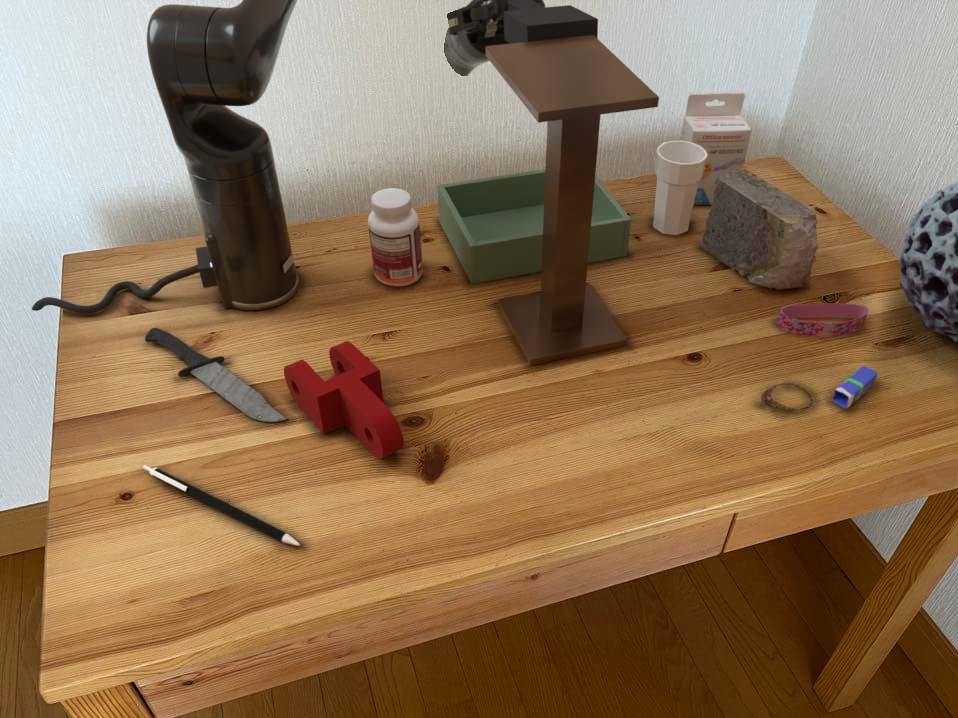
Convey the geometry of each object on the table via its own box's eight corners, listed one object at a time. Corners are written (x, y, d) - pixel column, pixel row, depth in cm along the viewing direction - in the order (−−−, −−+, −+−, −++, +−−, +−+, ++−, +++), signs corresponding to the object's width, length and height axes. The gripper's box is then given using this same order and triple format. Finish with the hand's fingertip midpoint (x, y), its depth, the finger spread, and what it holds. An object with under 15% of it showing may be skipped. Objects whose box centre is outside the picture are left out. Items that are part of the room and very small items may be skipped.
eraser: (835, 388, 93) (851, 396, 92) (862, 364, 97) (878, 372, 96) (830, 401, 95) (847, 410, 94) (857, 377, 98) (873, 385, 97)
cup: (682, 243, 117) (694, 169, 109) (638, 228, 119) (648, 155, 112) (701, 221, 121) (715, 149, 114) (659, 208, 124) (670, 136, 116)
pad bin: (471, 284, 108) (470, 246, 105) (439, 221, 119) (437, 184, 115) (627, 256, 114) (631, 219, 110) (583, 198, 125) (585, 163, 121)
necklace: (751, 392, 95) (753, 385, 94) (799, 381, 97) (801, 375, 96) (770, 418, 92) (773, 412, 92) (819, 406, 94) (822, 400, 93)
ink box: (680, 207, 124) (696, 109, 114) (671, 189, 127) (686, 93, 117) (736, 204, 125) (757, 107, 115) (726, 187, 128) (746, 91, 118)
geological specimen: (710, 174, 109) (796, 229, 100) (745, 163, 112) (831, 216, 103) (695, 245, 117) (774, 303, 108) (728, 233, 119) (808, 289, 110)
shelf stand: (530, 366, 97) (538, 112, 77) (487, 287, 108) (485, 45, 88) (626, 345, 101) (659, 96, 80) (576, 270, 111) (593, 34, 91)
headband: (876, 322, 102) (870, 336, 103) (865, 301, 105) (860, 316, 106) (786, 324, 101) (782, 338, 103) (778, 304, 104) (774, 318, 106)
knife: (260, 440, 88) (299, 415, 91) (258, 433, 87) (297, 408, 90) (133, 344, 97) (172, 323, 100) (131, 336, 97) (170, 316, 100)
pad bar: (527, 56, 91) (527, 25, 89) (469, 16, 108) (468, -11, 106) (597, 48, 93) (598, 18, 91) (529, 10, 110) (529, -16, 108)
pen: (149, 463, 84) (141, 461, 83) (304, 541, 78) (298, 540, 77) (145, 471, 84) (137, 470, 83) (300, 550, 78) (293, 549, 77)
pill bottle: (397, 255, 113) (389, 179, 105) (433, 271, 110) (428, 195, 103) (364, 276, 109) (354, 199, 101) (400, 294, 106) (393, 216, 99)
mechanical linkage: (288, 394, 93) (280, 357, 89) (347, 369, 96) (341, 333, 93) (363, 478, 83) (357, 441, 80) (425, 447, 87) (422, 410, 84)
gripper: (427, 6, 114) (456, -28, 98) (527, -3, 118) (570, -37, 102) (437, 65, 116) (467, 42, 100) (534, 55, 120) (578, 31, 104)
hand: (519, 3), depth 101 cm, fingers closed on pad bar, 3 cm apart
